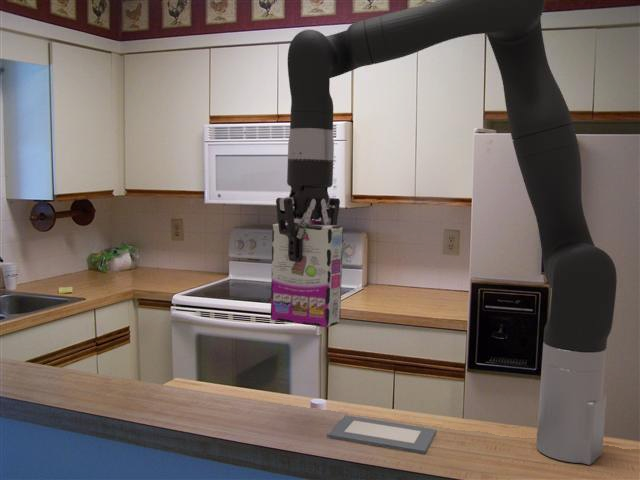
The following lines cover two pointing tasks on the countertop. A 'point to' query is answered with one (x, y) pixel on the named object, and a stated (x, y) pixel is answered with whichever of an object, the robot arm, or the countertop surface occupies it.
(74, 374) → the countertop surface
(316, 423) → the countertop surface
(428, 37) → the robot arm
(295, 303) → the candy bar box
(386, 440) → the card
